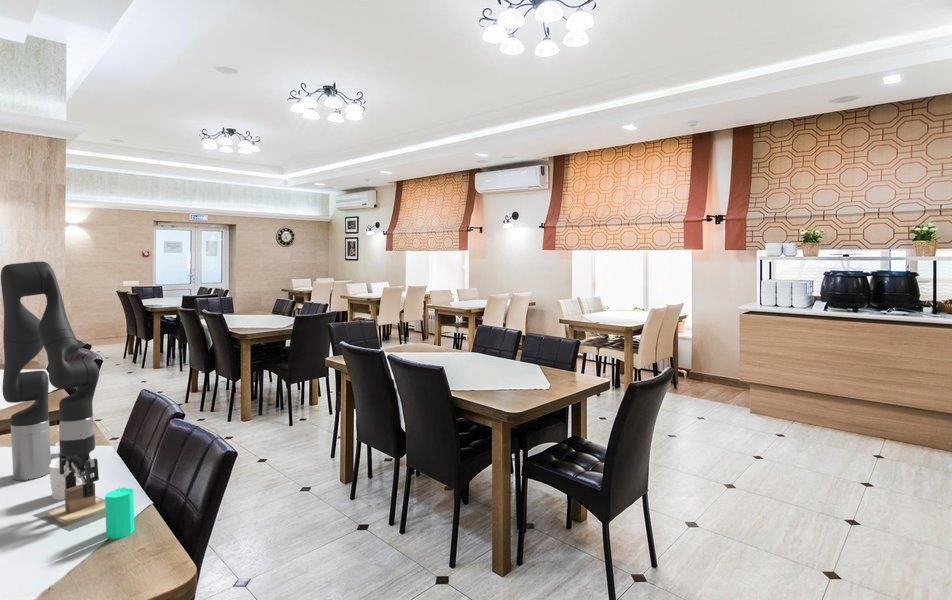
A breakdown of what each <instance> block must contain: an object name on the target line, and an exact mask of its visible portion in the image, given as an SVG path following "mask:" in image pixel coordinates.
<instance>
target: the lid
mask: <svg viewBox="0 0 952 600" xmlns="http://www.w3.org/2000/svg"><path fill="white" fill-rule="evenodd" d="M93 491H94V494H93V496H91V497H88V498H84V497H83V484H81V485H78V486H75V487H72V488H69V489H66V490H65V499H64V504H65V506H62V507H59V508H56V509H53V510H51V511H48V512H46V516H48V517H50V518H53V519H55V520H57V521H60V522H62V523H64V524H67V525H71V524H74V523H76V522H79V521H81V520H84V519H86V518H89V517H92V516H94V515H97V514H99V513H102V512H105V499H104V500H102V499H103V498H101V499H99V498H100V497H99V498H96V497H97V496H96V483H95V482H93ZM95 496H96V497H95Z"/></svg>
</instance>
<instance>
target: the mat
mask: <svg viewBox="0 0 952 600" xmlns="http://www.w3.org/2000/svg"><path fill="white" fill-rule="evenodd" d="M95 497H96V498H99V499H102V500H105V498H101V497H99V496H96V495H95ZM62 506H65V503H64V504H61V505H57V506H54V507H52V508H49V509H46V510H43V511H40V512H38V513H35V514H33V515H32V516H33V517H35V518H38V519H40V520H42V521H44V522H47V523H49V524H52V525H53V526H56V527H58V528H61V529H62V530H65V531H67V532H72V531H74V530H76V529H77V530H78V529H79V528H81V527H84V526H86V525H90V524H92V523H94V522H97V521H99V520H102V519H106V512H102V513H99V514H97V515H94V516H92V517H89V518H86V519H84V520H81V521H79V522H76V523H74V524H71V525H67V524H64V523H62V522H60V521H57V520H55V519H53V518H50V517H48V516H46V512H48V511H51V510H53V509H56V508H59V507H62Z"/></svg>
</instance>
